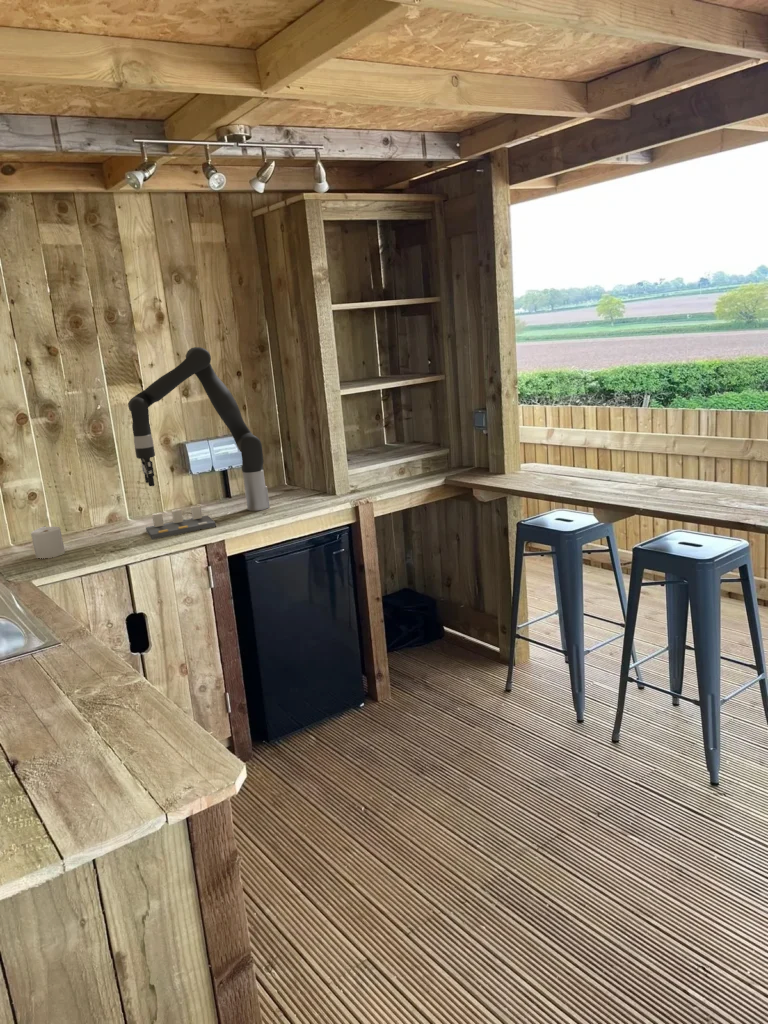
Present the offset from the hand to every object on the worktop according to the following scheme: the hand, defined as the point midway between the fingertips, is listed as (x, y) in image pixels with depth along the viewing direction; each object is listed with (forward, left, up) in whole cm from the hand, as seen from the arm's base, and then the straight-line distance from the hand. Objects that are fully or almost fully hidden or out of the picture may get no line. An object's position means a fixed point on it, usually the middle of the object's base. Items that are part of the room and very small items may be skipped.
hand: (150, 484), depth 325 cm
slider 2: (-16, +7, -16) cm, 24 cm away
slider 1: (0, +7, -16) cm, 18 cm away
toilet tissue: (+43, +10, -19) cm, 48 cm away
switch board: (-8, +11, -19) cm, 23 cm away
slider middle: (-8, +7, -16) cm, 19 cm away
